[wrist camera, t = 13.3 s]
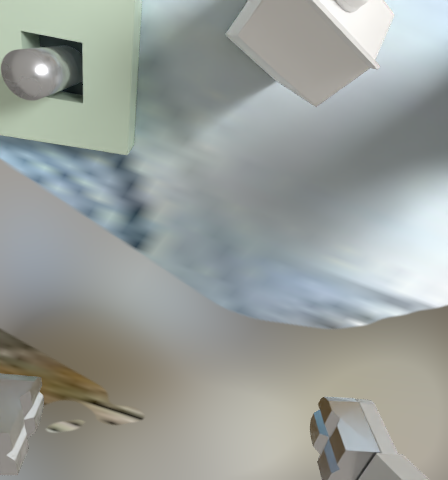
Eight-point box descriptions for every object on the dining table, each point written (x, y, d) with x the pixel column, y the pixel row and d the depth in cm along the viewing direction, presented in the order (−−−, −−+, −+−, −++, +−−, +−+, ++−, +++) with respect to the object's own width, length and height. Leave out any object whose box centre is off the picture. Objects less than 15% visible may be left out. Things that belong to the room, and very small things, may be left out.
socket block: (142, -2, 34) (135, -6, 30) (134, 144, 40) (127, 155, 37) (-17, -36, 32) (-44, -45, 28) (2, 123, 38) (-17, 132, 35)
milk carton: (276, 82, 38) (333, 119, 21) (224, 34, 35) (243, 36, 19) (324, 20, 35) (431, 9, 19) (271, -36, 33) (341, -105, 16)
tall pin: (86, 49, 35) (49, 54, 27) (86, 87, 37) (51, 104, 29) (48, 41, 35) (-2, 44, 26) (50, 81, 37) (4, 96, 28)
